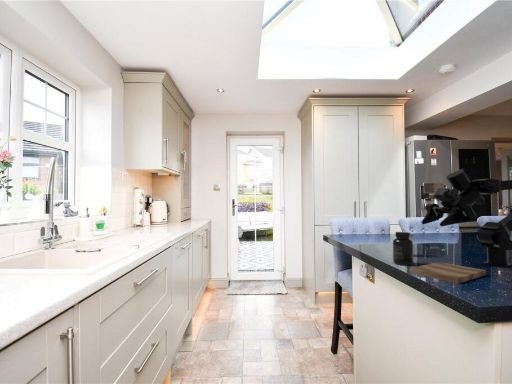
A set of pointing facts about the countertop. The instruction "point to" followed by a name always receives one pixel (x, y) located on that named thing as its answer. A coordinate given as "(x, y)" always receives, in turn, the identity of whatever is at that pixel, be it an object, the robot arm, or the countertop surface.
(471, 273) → the walnut board
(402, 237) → the supplement bottle
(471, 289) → the countertop surface
